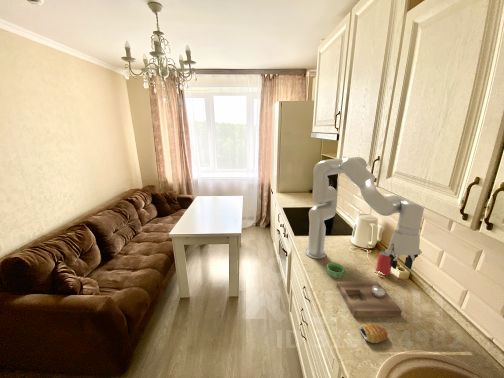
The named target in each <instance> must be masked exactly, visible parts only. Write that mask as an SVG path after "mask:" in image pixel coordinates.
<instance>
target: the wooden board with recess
mask: <svg viewBox="0 0 504 378" xmlns="http://www.w3.org/2000/svg"><path fill="white" fill-rule="evenodd" d="M374 285H377V286H380V287H382V285H381V284H380V283H379V282H378V281H375V280H374V281H336V288H337V290H338V292H339V293H340V296H341V297H342V299H343V301H344V303H345V304H346V306H347V308H348V309H349V312H350V314H351V315H352V317H353V318H356V317H357V318H358V317H361V318H362V317H363V318H364V317H365V318H368V317H371V318H372V317H373V318H375V317H401V316H402V312H403V310H402V309H401V308H400V307H399V305H398V304H397V303H396V302H395V301H394V300H393V298H392V297H391V296H390V295H389V294H388V292H387V291H386V290H385V293H384V298H383V299H378V298H376V297H374V296H373V295H372V294H371V291H372V286H374ZM349 295H350V296H351V295H359V297H360V299H361V300H352V299H351V298H350V296H349Z"/></svg>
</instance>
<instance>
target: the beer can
mask: <svg viewBox="0 0 504 378" xmlns="http://www.w3.org/2000/svg"><path fill="white" fill-rule="evenodd" d="M390 261H391V258H390V256H389V255H388V254H387V253H386V252H385V250H380V251H379V254H378V256H377V263H376V269H375V271H376V272H377V271H380V272H382V273H383V274H385V275H386V276H385V277H387V276H390V275H391V271H392V267H391V266H390Z"/></svg>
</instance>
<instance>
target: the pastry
mask: <svg viewBox="0 0 504 378" xmlns="http://www.w3.org/2000/svg"><path fill="white" fill-rule="evenodd" d="M358 330H359V331H360V332H359V333H360V334H361V335H362V337H363V338H364V340H365V341H367V342H369V343H370V344H378V343H381V342H383V341H385V340H387V339H388V332H387V330H386V329H385V328H384V327H383V326H379V325H376V324H374V323H363V324H362V325H360V326H358Z"/></svg>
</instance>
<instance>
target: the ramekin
mask: <svg viewBox="0 0 504 378" xmlns="http://www.w3.org/2000/svg"><path fill="white" fill-rule="evenodd" d="M333 270H335V271H333ZM326 272H327V275H328V276H330V277H331V278H334V279H340V278H343V276H344V272H345V267H344V266H343V265H342V264H340V263H337V262H329V263H327V264H326Z"/></svg>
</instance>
